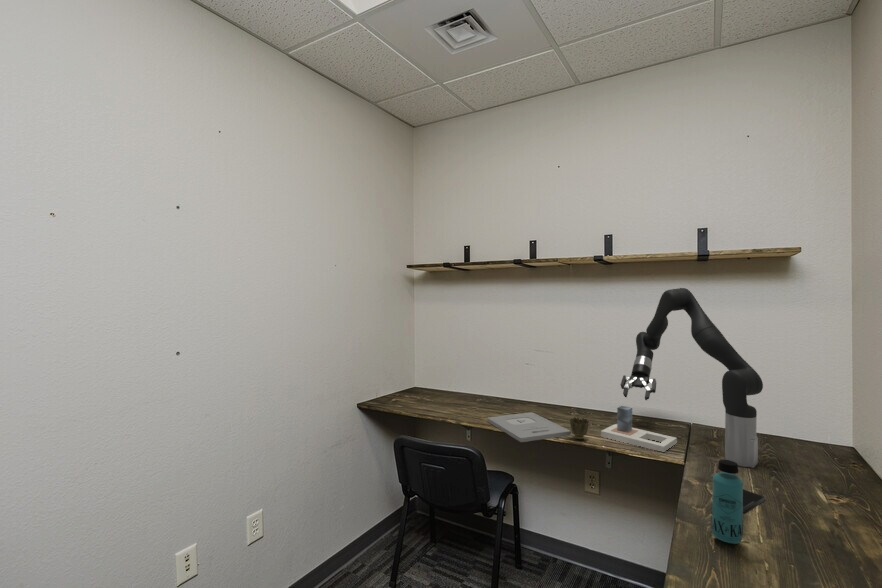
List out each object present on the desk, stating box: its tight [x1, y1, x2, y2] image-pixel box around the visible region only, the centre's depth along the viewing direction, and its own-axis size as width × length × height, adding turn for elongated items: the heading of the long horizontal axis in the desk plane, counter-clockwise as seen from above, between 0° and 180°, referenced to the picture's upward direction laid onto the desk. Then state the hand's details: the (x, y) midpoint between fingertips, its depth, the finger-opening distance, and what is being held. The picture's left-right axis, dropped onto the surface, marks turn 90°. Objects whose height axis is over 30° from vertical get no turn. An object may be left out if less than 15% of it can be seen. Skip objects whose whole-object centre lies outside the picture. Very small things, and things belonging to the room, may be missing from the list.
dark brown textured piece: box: [569, 417, 590, 441], centre depth 179 cm, size 8×7×8 cm
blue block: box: [616, 405, 633, 433], centre depth 181 cm, size 4×4×10 cm
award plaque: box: [486, 411, 572, 443], centre depth 193 cm, size 25×30×2 cm
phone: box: [743, 488, 766, 514], centre depth 126 cm, size 8×1×15 cm
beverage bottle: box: [710, 459, 744, 544], centre depth 106 cm, size 6×7×20 cm
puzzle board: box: [600, 423, 678, 453], centre depth 177 cm, size 25×14×3 cm, turn 43°
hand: (635, 397), depth 190 cm, fingers open, 8 cm apart
